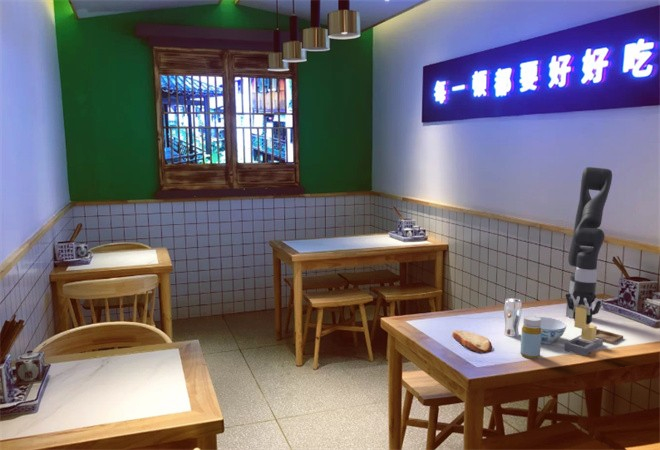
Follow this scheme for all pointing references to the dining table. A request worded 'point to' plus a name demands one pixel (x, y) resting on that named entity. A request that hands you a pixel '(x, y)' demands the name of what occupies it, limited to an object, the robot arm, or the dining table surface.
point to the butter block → (581, 317)
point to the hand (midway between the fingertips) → (582, 322)
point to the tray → (608, 336)
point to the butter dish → (584, 342)
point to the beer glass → (512, 316)
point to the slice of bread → (473, 341)
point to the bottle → (531, 337)
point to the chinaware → (551, 329)
